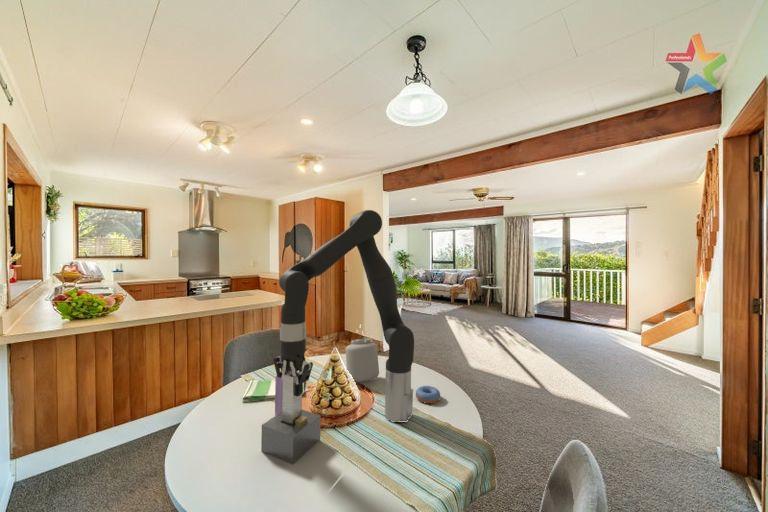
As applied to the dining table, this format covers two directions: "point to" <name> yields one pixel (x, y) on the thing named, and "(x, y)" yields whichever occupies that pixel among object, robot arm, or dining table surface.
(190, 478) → the dining table surface
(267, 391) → the dish towel
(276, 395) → the beverage can
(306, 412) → the base
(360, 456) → the dining table surface
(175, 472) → the dining table surface
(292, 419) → the column
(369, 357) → the jar
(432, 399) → the doughnut
